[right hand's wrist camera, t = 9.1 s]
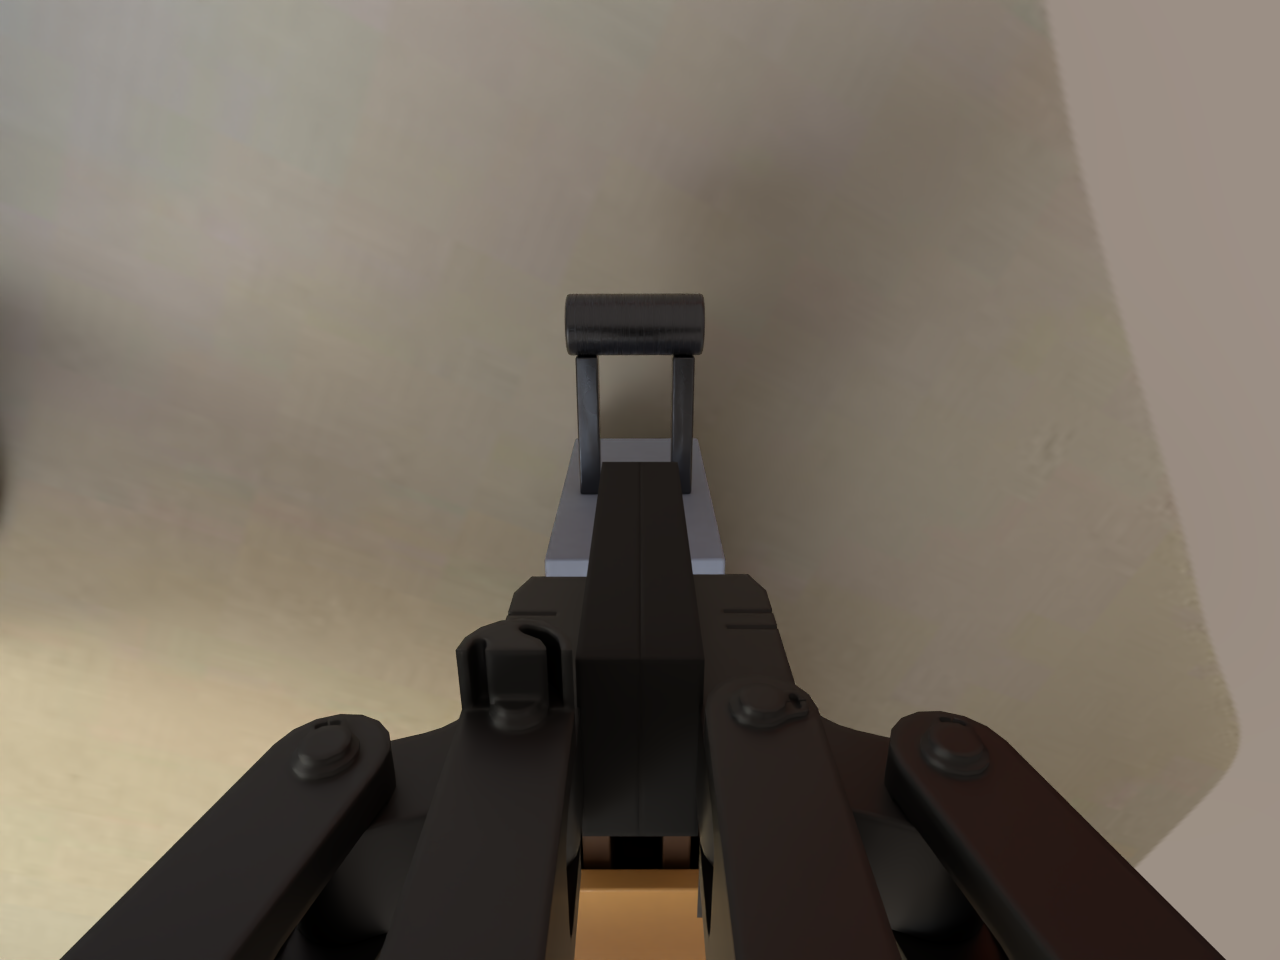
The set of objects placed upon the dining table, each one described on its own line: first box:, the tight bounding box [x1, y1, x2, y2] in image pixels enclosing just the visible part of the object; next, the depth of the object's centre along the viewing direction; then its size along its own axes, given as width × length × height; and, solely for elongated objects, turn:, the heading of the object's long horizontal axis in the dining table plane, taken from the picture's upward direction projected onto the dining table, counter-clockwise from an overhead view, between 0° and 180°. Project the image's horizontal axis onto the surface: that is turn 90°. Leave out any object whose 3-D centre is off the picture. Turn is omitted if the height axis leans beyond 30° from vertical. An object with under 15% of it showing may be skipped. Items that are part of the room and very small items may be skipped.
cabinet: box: [574, 823, 706, 960], centre depth 29 cm, size 19×6×11 cm, turn 0°
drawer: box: [545, 294, 725, 869], centre depth 24 cm, size 24×4×9 cm, turn 0°
